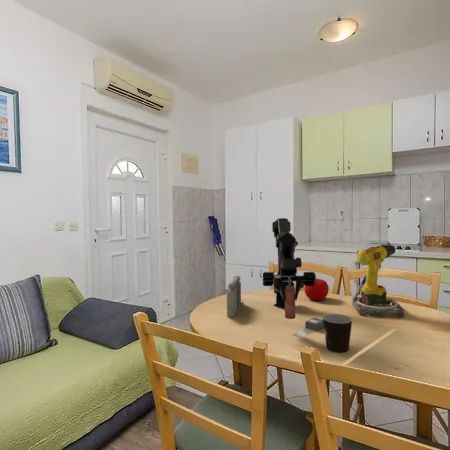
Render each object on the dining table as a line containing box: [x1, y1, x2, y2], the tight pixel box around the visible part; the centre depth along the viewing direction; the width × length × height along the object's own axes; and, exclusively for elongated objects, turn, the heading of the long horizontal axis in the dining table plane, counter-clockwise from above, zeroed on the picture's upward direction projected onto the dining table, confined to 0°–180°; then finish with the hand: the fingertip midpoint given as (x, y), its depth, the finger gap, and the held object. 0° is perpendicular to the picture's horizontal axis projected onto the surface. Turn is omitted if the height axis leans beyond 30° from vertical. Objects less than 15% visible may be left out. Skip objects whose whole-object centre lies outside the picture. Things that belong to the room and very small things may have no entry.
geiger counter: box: [221, 274, 242, 318], centre depth 143 cm, size 14×6×25 cm
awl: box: [284, 276, 296, 320], centre depth 110 cm, size 4×4×14 cm
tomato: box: [303, 277, 330, 301], centre depth 154 cm, size 12×12×10 cm
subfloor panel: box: [292, 328, 315, 339], centre depth 116 cm, size 15×16×1 cm
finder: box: [304, 317, 324, 332], centre depth 115 cm, size 6×4×3 cm
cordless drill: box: [351, 244, 405, 318], centre depth 135 cm, size 18×19×28 cm
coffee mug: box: [322, 313, 353, 354], centre depth 99 cm, size 12×9×10 cm
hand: (290, 299), depth 109 cm, fingers closed on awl, 4 cm apart
